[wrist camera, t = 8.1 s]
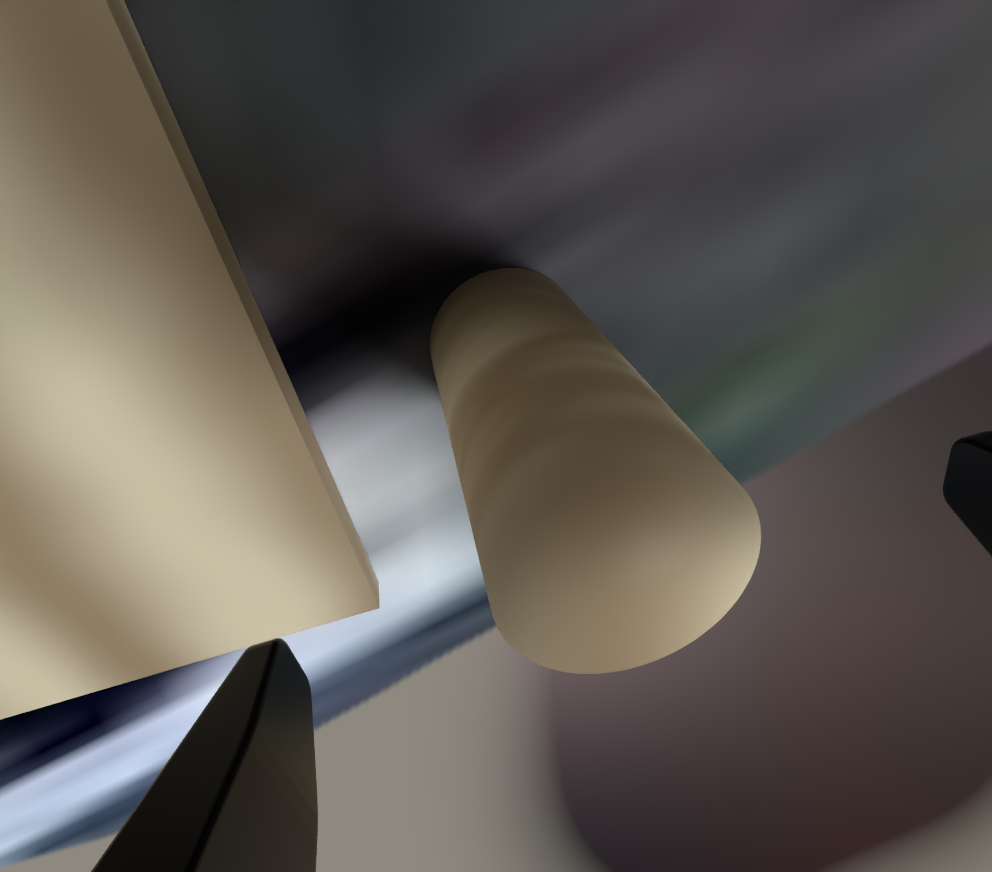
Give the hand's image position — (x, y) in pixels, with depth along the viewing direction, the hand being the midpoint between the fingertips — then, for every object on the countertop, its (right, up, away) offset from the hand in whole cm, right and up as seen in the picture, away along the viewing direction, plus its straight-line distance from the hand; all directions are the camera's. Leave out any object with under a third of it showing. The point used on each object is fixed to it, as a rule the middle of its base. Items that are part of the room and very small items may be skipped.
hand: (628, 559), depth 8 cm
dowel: (-1, +4, +7) cm, 8 cm away
